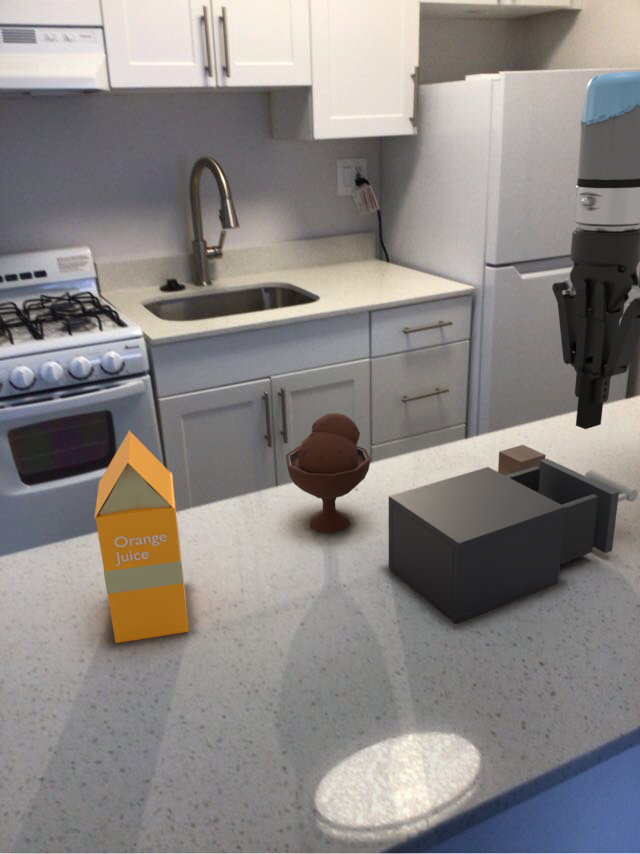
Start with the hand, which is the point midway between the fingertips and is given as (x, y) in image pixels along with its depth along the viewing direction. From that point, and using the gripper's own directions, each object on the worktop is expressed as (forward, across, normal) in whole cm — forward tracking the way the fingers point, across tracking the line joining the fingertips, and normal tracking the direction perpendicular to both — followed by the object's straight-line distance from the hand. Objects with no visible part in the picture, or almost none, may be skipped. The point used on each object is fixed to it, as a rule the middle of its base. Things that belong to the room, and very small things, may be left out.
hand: (588, 424), depth 92 cm
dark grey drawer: (+13, +2, -6) cm, 15 cm away
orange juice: (+14, -12, -53) cm, 56 cm away
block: (+14, -14, +3) cm, 20 cm away
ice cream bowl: (+14, -19, -26) cm, 35 cm away
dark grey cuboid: (+14, +1, -19) cm, 24 cm away
